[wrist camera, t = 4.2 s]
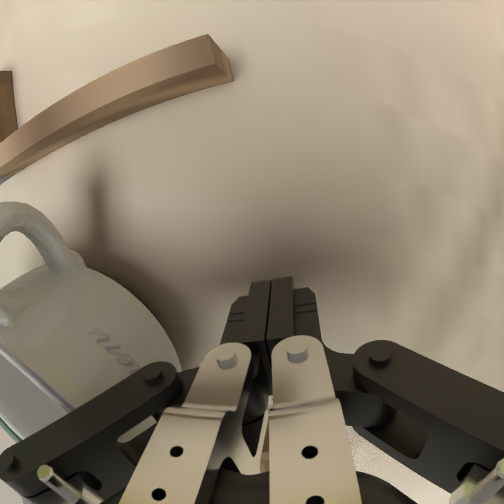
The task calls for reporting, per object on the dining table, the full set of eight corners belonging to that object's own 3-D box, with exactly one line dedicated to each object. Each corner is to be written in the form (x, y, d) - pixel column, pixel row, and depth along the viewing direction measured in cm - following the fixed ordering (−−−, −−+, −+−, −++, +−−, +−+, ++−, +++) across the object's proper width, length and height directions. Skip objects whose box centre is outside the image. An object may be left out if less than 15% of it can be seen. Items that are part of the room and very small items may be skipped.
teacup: (181, 414, 17) (146, 516, 10) (46, 350, 17) (-13, 423, 10) (244, 217, 12) (179, 360, 4) (40, 153, 11) (-93, 196, 4)
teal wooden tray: (203, -36, 8) (150, -116, 2) (310, 453, 18) (310, 523, 12) (-59, 149, 12) (-113, 168, 6) (74, 432, 22) (51, 474, 16)
